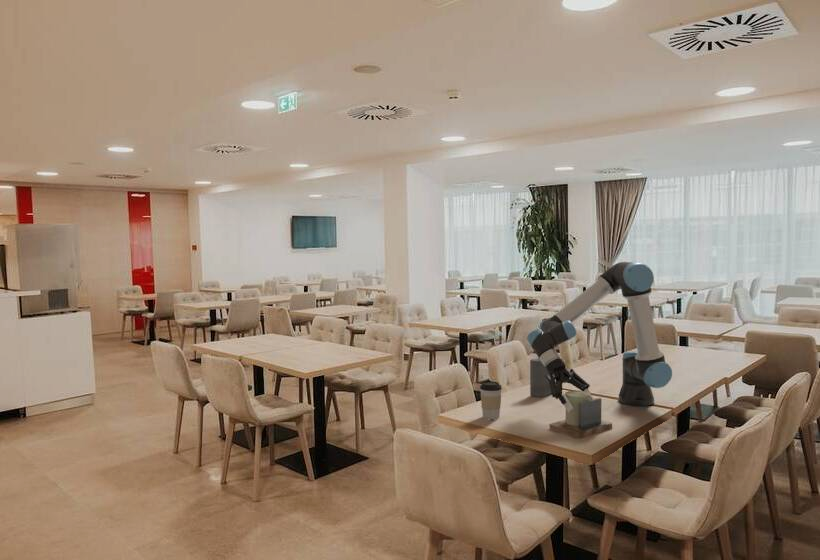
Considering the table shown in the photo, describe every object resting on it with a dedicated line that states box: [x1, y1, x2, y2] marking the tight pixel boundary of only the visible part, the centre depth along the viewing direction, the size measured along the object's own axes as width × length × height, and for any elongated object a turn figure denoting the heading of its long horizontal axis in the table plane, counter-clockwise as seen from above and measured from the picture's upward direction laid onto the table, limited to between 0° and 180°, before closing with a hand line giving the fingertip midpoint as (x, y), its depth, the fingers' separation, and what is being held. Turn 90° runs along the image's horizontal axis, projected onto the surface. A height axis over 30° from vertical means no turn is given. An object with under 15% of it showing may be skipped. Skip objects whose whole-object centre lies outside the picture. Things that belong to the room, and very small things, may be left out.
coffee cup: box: [479, 380, 503, 420], centre depth 242 cm, size 9×9×15 cm
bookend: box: [579, 397, 606, 431], centre depth 221 cm, size 12×3×10 cm, turn 124°
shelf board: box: [549, 419, 613, 439], centre depth 226 cm, size 20×14×2 cm
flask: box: [529, 357, 552, 399], centre depth 276 cm, size 15×6×20 cm, turn 130°
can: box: [564, 390, 589, 426], centre depth 227 cm, size 9×9×12 cm
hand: (582, 407), depth 225 cm, fingers open, 13 cm apart
